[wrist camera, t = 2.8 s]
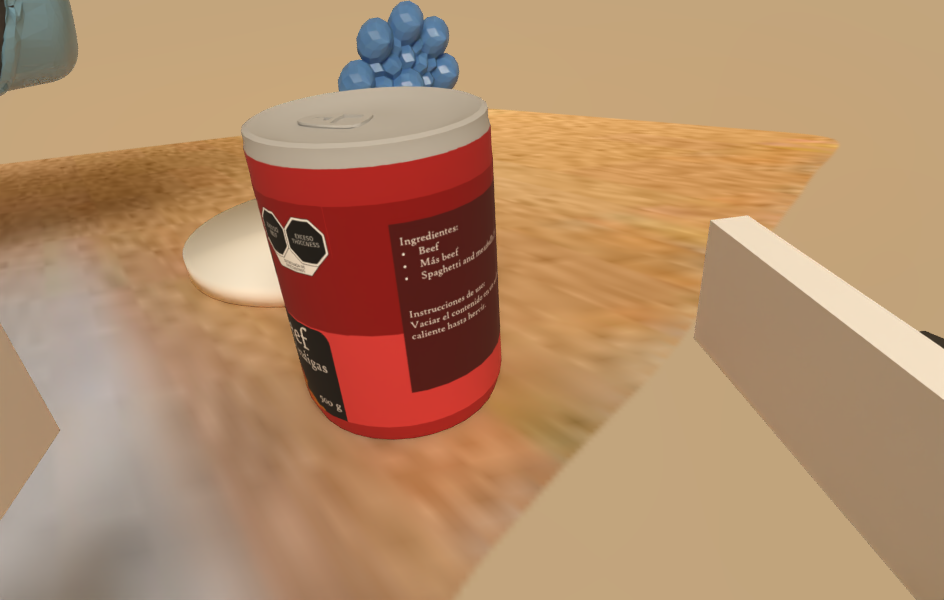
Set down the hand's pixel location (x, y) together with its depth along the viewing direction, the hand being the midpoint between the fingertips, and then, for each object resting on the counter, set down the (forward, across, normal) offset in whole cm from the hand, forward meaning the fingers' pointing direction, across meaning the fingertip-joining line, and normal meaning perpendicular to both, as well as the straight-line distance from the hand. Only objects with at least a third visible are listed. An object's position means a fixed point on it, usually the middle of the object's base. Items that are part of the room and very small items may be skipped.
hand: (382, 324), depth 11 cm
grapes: (+40, +1, -9) cm, 41 cm away
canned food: (+10, 0, -9) cm, 14 cm away
